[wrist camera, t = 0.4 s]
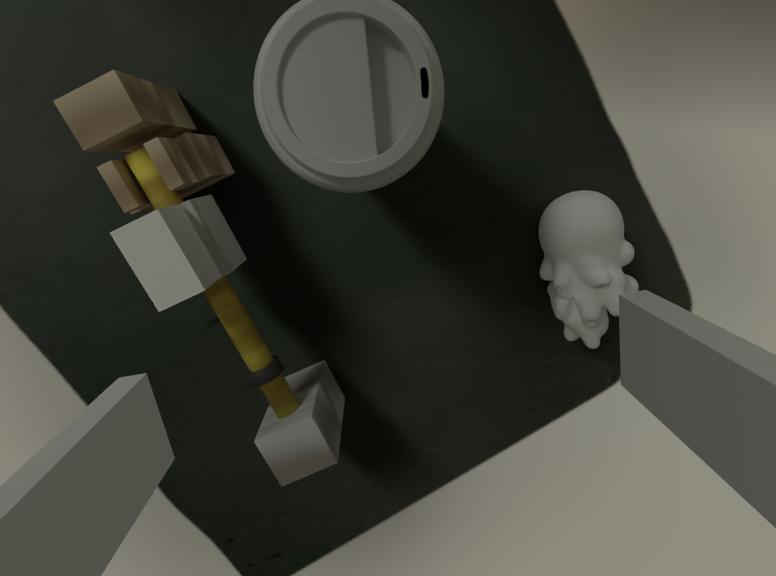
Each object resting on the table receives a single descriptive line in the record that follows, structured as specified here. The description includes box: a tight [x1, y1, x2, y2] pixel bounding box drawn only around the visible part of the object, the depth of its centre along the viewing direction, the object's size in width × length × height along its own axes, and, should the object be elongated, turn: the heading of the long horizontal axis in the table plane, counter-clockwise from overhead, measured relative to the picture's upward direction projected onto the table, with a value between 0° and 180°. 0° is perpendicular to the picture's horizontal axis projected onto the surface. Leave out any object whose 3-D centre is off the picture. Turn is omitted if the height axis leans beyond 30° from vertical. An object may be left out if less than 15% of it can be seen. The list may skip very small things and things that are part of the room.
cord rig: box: [53, 70, 345, 486], centre depth 35 cm, size 28×6×10 cm, turn 25°
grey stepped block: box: [110, 195, 247, 312], centre depth 30 cm, size 5×4×7 cm
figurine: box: [539, 190, 639, 349], centre depth 37 cm, size 7×7×12 cm
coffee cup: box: [254, 0, 444, 192], centre depth 29 cm, size 10×10×15 cm
